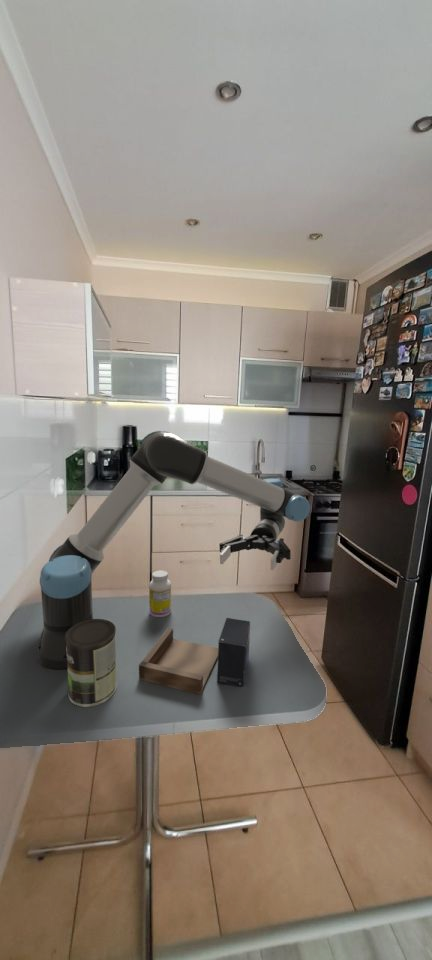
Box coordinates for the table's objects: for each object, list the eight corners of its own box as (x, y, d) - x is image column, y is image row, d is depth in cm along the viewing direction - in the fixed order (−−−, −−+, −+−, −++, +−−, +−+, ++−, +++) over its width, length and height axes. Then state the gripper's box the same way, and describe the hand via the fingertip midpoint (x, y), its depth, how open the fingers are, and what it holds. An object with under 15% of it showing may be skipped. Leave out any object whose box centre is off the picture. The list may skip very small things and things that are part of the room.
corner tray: (139, 679, 84) (138, 665, 84) (168, 639, 99) (168, 627, 99) (200, 694, 80) (200, 680, 79) (220, 650, 95) (221, 638, 94)
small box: (244, 688, 82) (246, 645, 80) (216, 683, 84) (217, 641, 82) (249, 658, 92) (251, 620, 91) (224, 654, 94) (225, 616, 92)
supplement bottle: (153, 606, 117) (152, 568, 114) (173, 607, 116) (173, 569, 114) (146, 617, 110) (146, 577, 108) (168, 619, 109) (167, 579, 107)
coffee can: (69, 714, 74) (65, 651, 72) (67, 680, 84) (64, 623, 81) (120, 699, 78) (119, 639, 76) (114, 668, 88) (112, 614, 85)
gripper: (305, 550, 110) (294, 581, 91) (227, 542, 119) (202, 570, 99) (305, 526, 109) (294, 553, 89) (226, 520, 117) (200, 543, 98)
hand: (246, 562), depth 94 cm, fingers open, 13 cm apart
